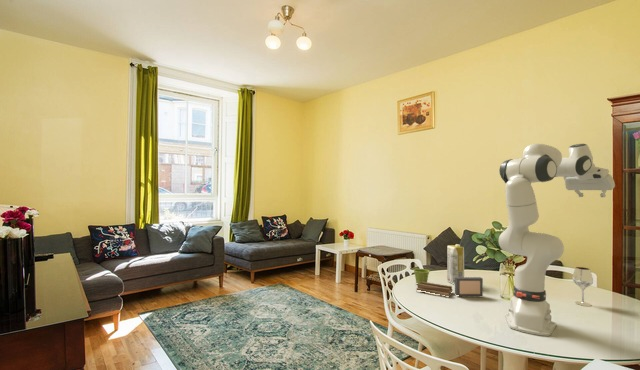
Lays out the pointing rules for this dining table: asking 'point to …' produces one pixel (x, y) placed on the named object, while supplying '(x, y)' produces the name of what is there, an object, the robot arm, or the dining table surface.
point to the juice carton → (455, 262)
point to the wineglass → (582, 281)
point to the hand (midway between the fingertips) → (592, 196)
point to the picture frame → (469, 286)
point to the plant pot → (421, 275)
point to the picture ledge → (435, 288)
